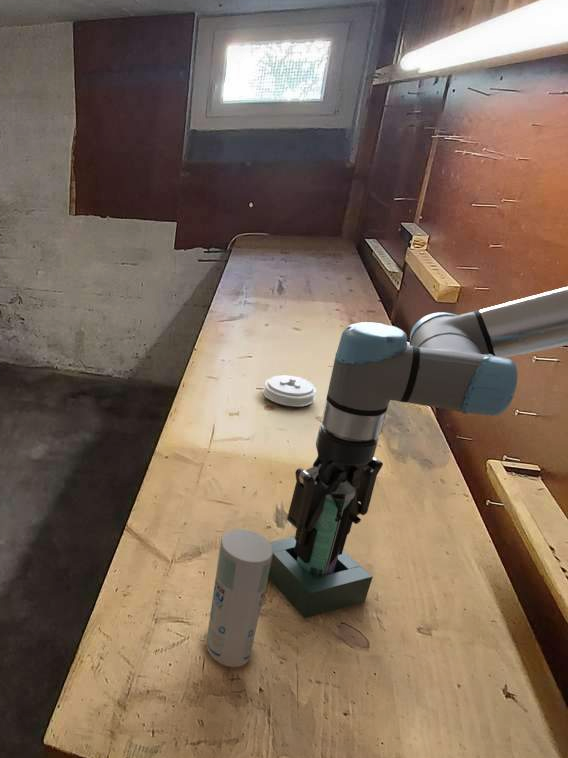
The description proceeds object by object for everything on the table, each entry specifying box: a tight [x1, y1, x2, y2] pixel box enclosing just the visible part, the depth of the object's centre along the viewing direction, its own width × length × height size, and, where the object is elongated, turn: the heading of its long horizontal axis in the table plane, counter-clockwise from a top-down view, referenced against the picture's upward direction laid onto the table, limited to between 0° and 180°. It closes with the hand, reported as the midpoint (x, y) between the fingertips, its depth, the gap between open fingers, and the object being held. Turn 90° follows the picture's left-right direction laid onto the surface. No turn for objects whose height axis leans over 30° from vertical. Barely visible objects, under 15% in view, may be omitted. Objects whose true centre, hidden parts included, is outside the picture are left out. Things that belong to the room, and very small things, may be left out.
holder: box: [268, 535, 374, 620], centre depth 92 cm, size 11×11×6 cm
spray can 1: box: [206, 528, 273, 668], centre depth 79 cm, size 6×6×20 cm
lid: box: [263, 374, 317, 407], centre depth 151 cm, size 13×13×5 cm
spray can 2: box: [296, 480, 356, 578], centre depth 88 cm, size 6×6×20 cm
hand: (317, 552), depth 90 cm, fingers closed on spray can 2, 5 cm apart
